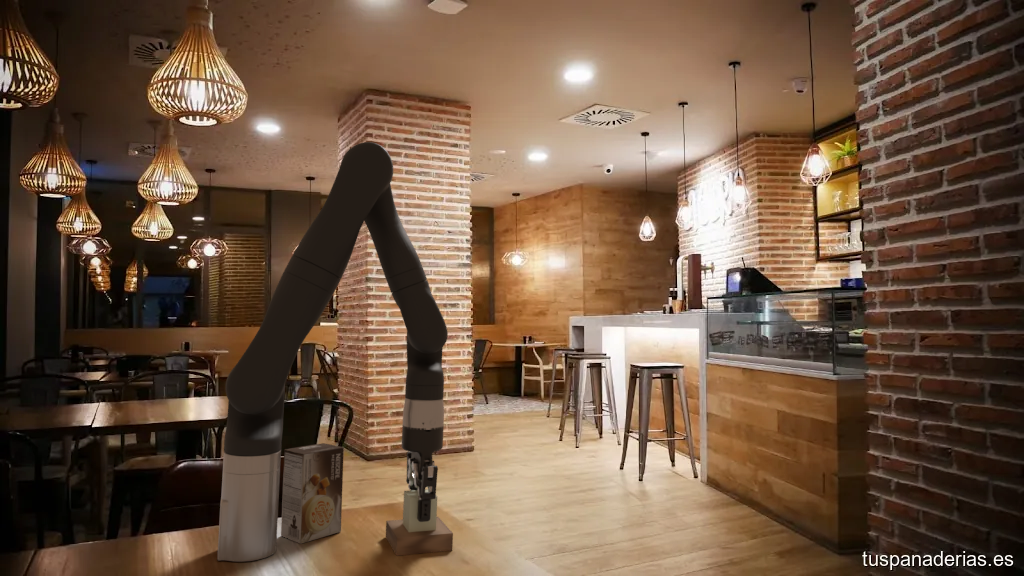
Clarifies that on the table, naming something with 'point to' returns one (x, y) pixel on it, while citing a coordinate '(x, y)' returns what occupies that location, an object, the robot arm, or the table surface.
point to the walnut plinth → (418, 538)
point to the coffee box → (312, 492)
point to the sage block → (412, 509)
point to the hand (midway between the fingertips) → (419, 515)
